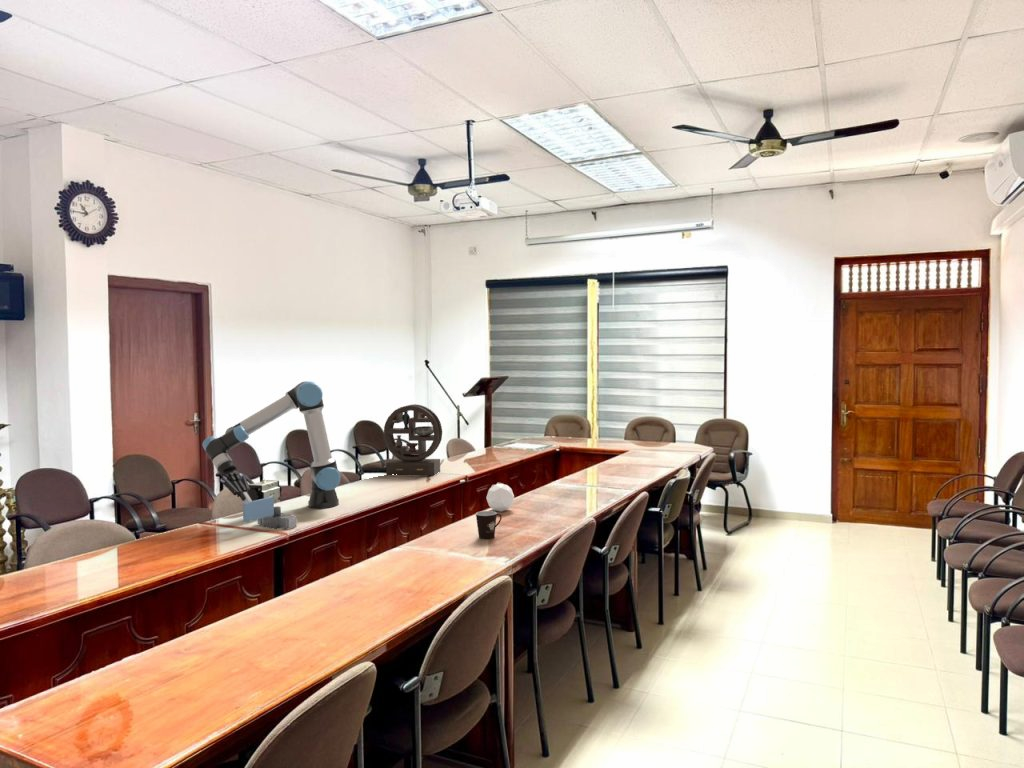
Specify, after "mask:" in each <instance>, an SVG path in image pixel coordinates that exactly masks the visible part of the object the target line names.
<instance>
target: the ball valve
mask: <svg viewBox="0 0 1024 768" xmlns="http://www.w3.org/2000/svg"><path fill="white" fill-rule="evenodd" d="M248 485H249V488H250V490H249V491H248V494H249V495H250V499H251V500H252V501H255V500H259V499H264V498H268V497H274V503H275V502H278V501H280V499H281V497H282V490H283V489H282V485H281V484H280V481H279V480H275V479H274V480H273V479H272V480H270V479H266V478H263V479H262V480H261V481H258V482H255V483H252V484H251V483H250V484H248Z"/></svg>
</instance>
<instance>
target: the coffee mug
mask: <svg viewBox="0 0 1024 768" xmlns="http://www.w3.org/2000/svg"><path fill="white" fill-rule="evenodd" d="M497 516H499V521H498V522H497ZM475 519H476V525H477V533H478V539H480V540H491V539H494V538H495V534H496V528H497V526H499V524H500V523H501V521H502V515H501V514H500V513H497V512H496V511H495V510H481V511H477V512H476V513H475Z"/></svg>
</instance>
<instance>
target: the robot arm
mask: <svg viewBox="0 0 1024 768" xmlns="http://www.w3.org/2000/svg"><path fill="white" fill-rule="evenodd" d="M324 406H325V405H324V401H323V390H322V388H321V386H320V385H319V384H317V383H316V382H314V381H302V382H300V383H298V384H297V385H295V386H294V387H293V388H291V389H290V390H288V391H287V392H285V395H284V396H282V397H281V398H278V399H277V400H275V401H274V402H272V403H270V404H269V405H267V406H265V407H264V408H262V409H260V410H259V411H257V412H255V413H254V414H252V415H250V416H248V417H247V418H245V419H243V420H242V421H240V422H238V423H237V424H235V425H233V426H231V427H228V428H227V429H226V431H225V432H224V434H223V435H221V436H219V437H218V436H215V435H211V436H209V437H207V438H205V439H204V440H203V442H202V447H203V449H204V452H205V453H206V455H207V456H208V458H209V459H210V461H211V462H212V464H213V465H214V467H215V469H216V470H217V472H218V473H219V475H220V476H221V478H220V480H219V483H221V484H222V485H224V487H226V488H227V490H228V491H229V492H230V493H231V494H233V495H234V496H236V497H237V498H240V499H241V501H243V503H246V502H251V501H252V500H251V499H250V495H249V494H248V491H249V490H250V488H249V485H250V484H249V482H248V479H247V477H246V476H247V474H246V473H245V472H243V473H240V471H239V470H238V469H237V466H236V464H235V462H234V461H233V459H232V457H231V456H230V455H229V454H228V452H229V451H230V450H232V449H234V448H235V447H238V446H239V445H240V444H242V443H245V441H246V440H248V439H249V437H250V436H249V435H251V434H253V433H255V432H256V431H257V430H259V429H261V428H263V427H265V426H266V425H269V424H270V423H272V422H273V421H275V420H277V419H278V418H280V417H282V416H283V415H285V414H287V413H289V412H290V411H291V410H299V412H300V413H302V414H303V417H304V421H305V427H306V431H307V434H308V435H307V436H308V439H309V445H310V449H311V454H312V457H313V461H312V462H311V463H310V484H311V485H310V487H311V489H310V490H311V492H310V495H309V500H308V501H307V502H308V503H307V504H308V507H309V508H312V509H327V508H333V507H336V506H339V503H340V502H339V498H338V495H337V491H336V488H337V487H338V486H339V484H340V482H341V473H340V471H339V469H338V465H337V461H336V459H335V458H333V456H332V452H331V449H330V447H331V446H330V443H329V438H328V433H327V428H326V425H325V421H324V415H323V409H324Z"/></svg>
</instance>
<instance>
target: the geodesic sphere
mask: <svg viewBox="0 0 1024 768" xmlns="http://www.w3.org/2000/svg"><path fill="white" fill-rule="evenodd" d="M514 499H515V495H514V493H513V489H512V488H511V487H510V486H509V485H508V484H504V483H502V482H497V483H496V484H491V487H489V489H488V491H487V495H486V502H487V504H488V506H489V507H490V508H491V509H492V511H495V512H496V511H497V512H500V513H501V512H505V511H507V510H509V509H510V508H511V506H512V505H513V503H514Z"/></svg>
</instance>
